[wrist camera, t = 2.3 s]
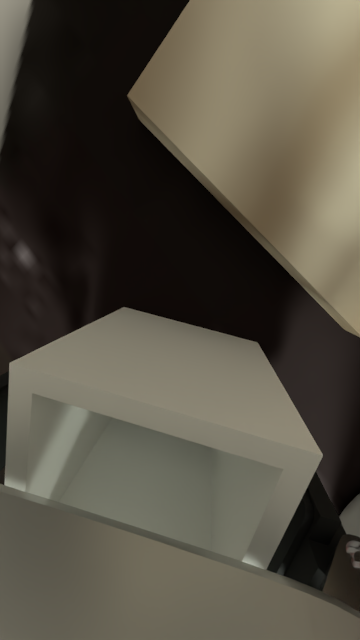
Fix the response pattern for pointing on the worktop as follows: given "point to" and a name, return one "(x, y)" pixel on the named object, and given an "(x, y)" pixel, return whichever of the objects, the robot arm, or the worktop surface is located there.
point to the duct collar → (161, 433)
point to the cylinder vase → (351, 517)
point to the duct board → (271, 129)
